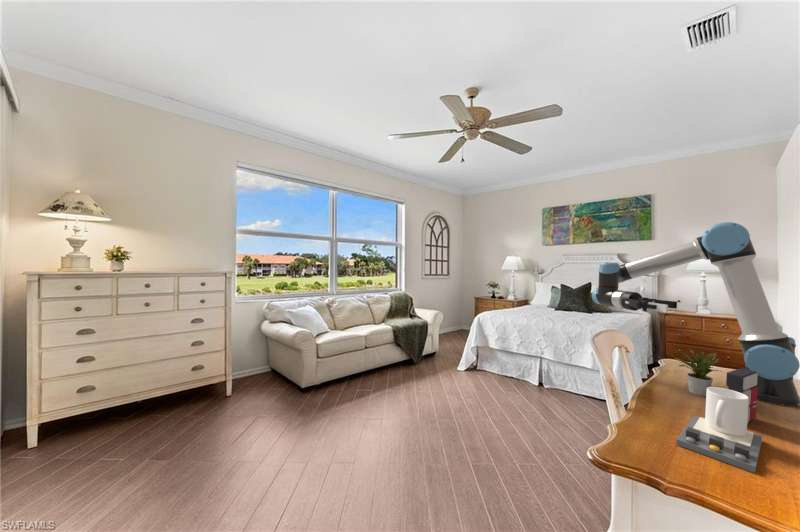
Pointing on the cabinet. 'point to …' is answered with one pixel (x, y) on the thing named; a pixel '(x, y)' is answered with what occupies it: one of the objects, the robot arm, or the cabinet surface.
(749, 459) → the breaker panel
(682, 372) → the cabinet surface
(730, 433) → the mug
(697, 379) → the house plant
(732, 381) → the dark grey box
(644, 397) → the cabinet surface
